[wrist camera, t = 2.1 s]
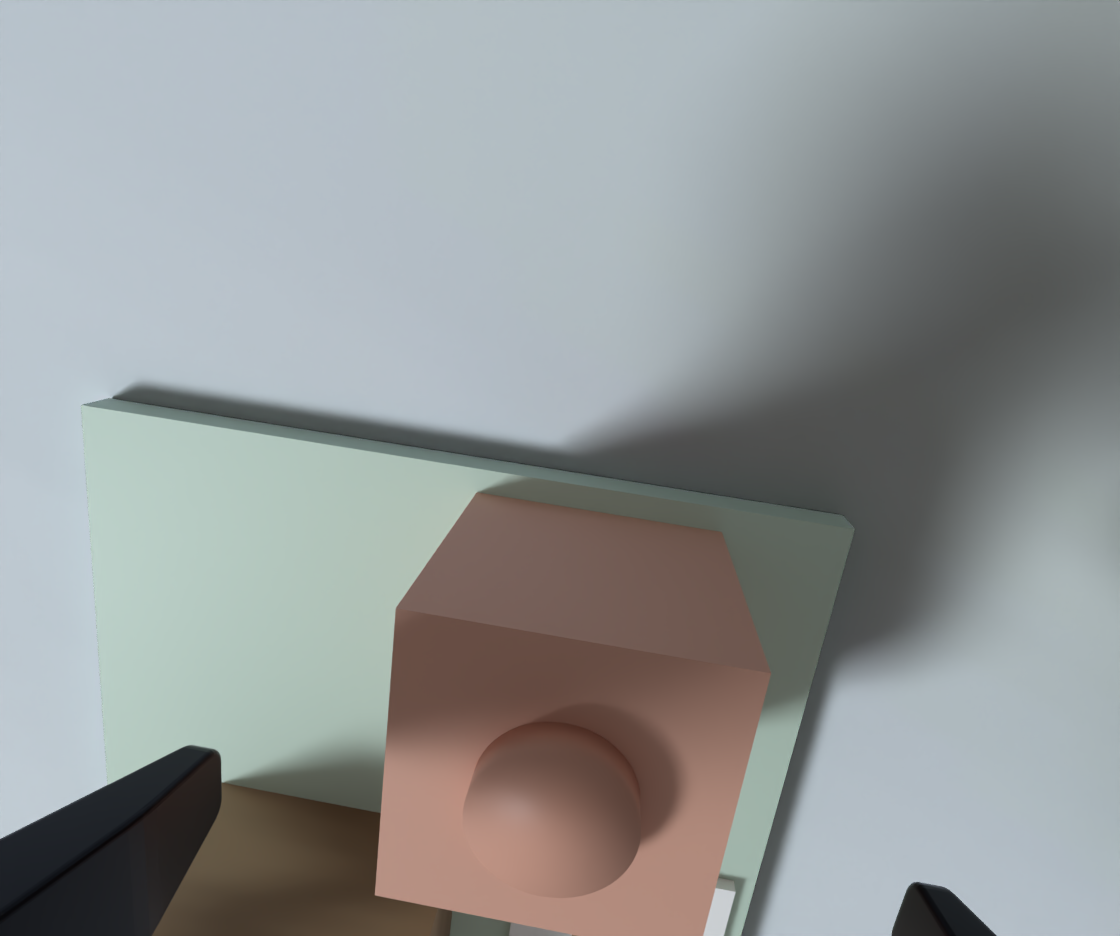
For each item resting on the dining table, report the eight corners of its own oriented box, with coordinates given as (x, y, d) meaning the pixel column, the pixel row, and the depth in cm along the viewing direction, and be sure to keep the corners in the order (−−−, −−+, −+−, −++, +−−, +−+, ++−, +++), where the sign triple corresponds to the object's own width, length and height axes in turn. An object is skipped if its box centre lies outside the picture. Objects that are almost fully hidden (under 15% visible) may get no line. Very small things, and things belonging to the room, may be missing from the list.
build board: (842, 515, 14) (861, 537, 13) (694, 1056, 19) (699, 1107, 18) (108, 398, 15) (65, 408, 14) (140, 942, 20) (109, 983, 18)
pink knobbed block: (722, 532, 14) (780, 701, 8) (675, 740, 15) (700, 1000, 10) (476, 492, 14) (380, 630, 9) (454, 700, 15) (359, 931, 10)
